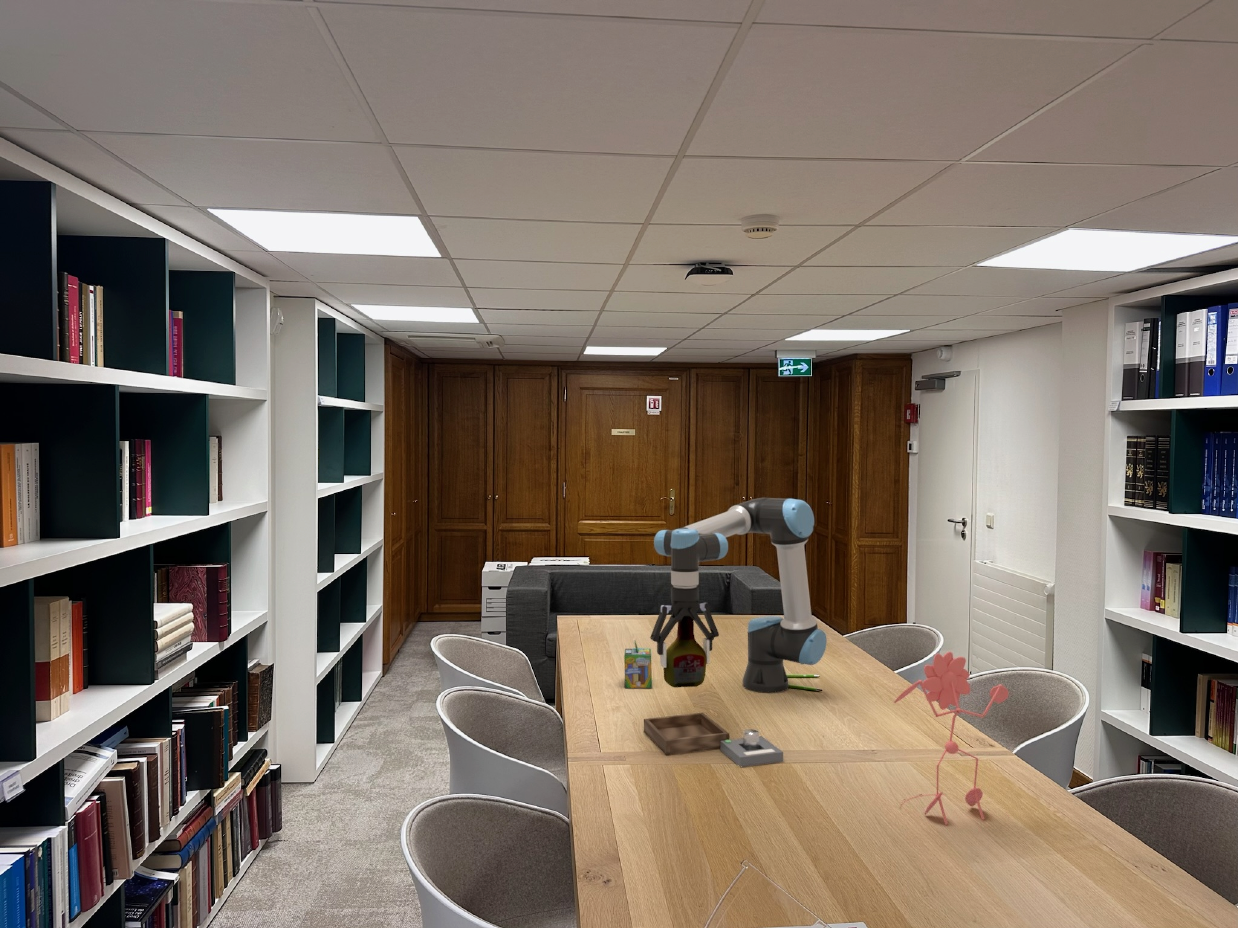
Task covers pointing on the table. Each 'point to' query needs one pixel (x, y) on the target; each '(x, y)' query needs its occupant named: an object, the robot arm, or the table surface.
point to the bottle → (685, 658)
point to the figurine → (946, 687)
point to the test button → (750, 739)
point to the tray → (685, 733)
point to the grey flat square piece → (751, 752)
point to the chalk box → (638, 668)
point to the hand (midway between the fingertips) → (684, 664)
